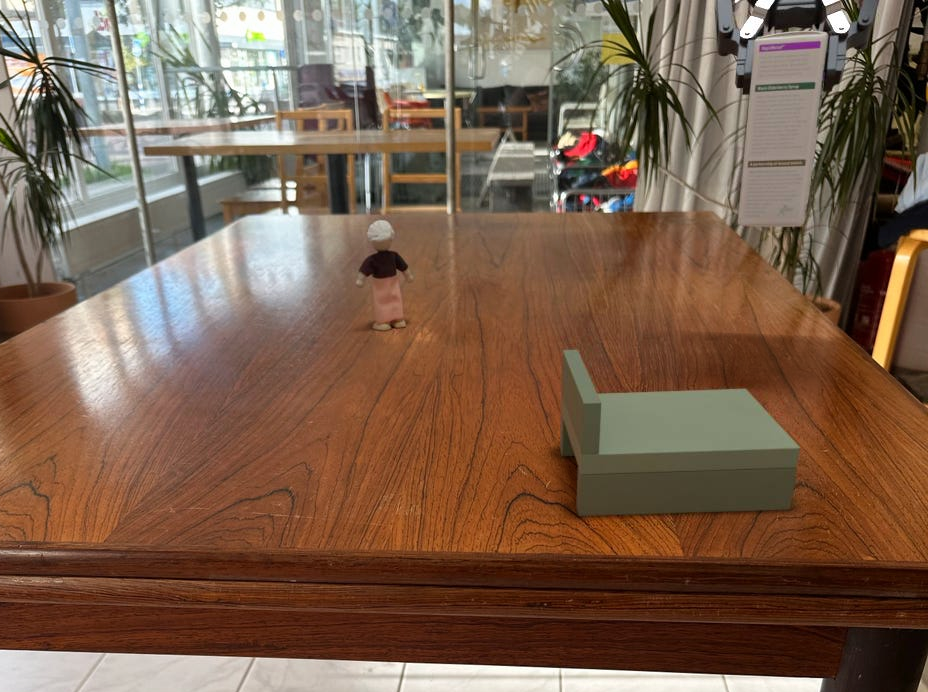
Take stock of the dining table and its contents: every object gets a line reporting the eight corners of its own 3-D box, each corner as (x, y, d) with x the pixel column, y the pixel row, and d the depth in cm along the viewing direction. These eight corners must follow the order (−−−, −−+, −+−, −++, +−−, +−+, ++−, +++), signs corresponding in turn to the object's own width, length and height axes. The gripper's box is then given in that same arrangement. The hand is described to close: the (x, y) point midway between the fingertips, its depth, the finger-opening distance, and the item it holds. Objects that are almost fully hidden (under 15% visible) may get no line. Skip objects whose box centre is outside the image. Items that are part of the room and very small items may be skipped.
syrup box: (804, 227, 82) (832, 29, 74) (734, 226, 84) (755, 33, 76) (805, 218, 87) (833, 30, 79) (739, 217, 88) (759, 34, 81)
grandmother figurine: (401, 320, 124) (395, 215, 118) (419, 324, 121) (413, 217, 115) (353, 330, 120) (344, 222, 113) (371, 335, 117) (362, 225, 111)
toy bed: (738, 447, 79) (751, 343, 75) (789, 514, 67) (809, 395, 63) (559, 453, 79) (562, 349, 75) (578, 521, 67) (583, 403, 63)
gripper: (720, -112, 80) (700, 52, 76) (904, -129, 76) (891, 43, 73) (716, -31, 87) (697, 123, 84) (883, -44, 83) (871, 117, 80)
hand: (788, 85), depth 78 cm, fingers closed on syrup box, 6 cm apart
